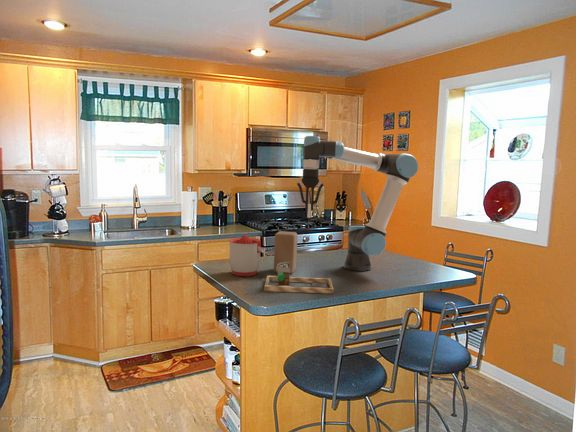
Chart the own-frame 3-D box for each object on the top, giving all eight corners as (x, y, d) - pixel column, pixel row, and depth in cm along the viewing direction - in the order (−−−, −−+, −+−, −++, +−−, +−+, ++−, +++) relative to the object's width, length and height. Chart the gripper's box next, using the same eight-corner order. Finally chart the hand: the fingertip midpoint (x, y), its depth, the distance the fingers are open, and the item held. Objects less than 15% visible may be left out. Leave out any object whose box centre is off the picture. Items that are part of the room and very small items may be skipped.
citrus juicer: (259, 279, 213) (260, 238, 211) (224, 276, 216) (225, 235, 214) (266, 271, 229) (267, 233, 226) (233, 269, 232) (234, 231, 229)
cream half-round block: (275, 282, 209) (276, 261, 208) (289, 282, 209) (289, 261, 208) (275, 289, 197) (275, 267, 196) (289, 290, 197) (289, 268, 196)
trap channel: (330, 282, 212) (330, 277, 211) (333, 293, 194) (333, 288, 194) (267, 280, 212) (267, 275, 212) (264, 290, 195) (264, 285, 194)
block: (292, 274, 225) (294, 234, 223) (273, 272, 227) (274, 233, 225) (296, 269, 235) (297, 232, 233) (277, 268, 237) (278, 230, 234)
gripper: (323, 169, 219) (321, 216, 222) (297, 168, 219) (295, 216, 222) (324, 169, 212) (322, 218, 215) (297, 168, 212) (295, 217, 215)
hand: (308, 217), depth 218 cm, fingers closed
